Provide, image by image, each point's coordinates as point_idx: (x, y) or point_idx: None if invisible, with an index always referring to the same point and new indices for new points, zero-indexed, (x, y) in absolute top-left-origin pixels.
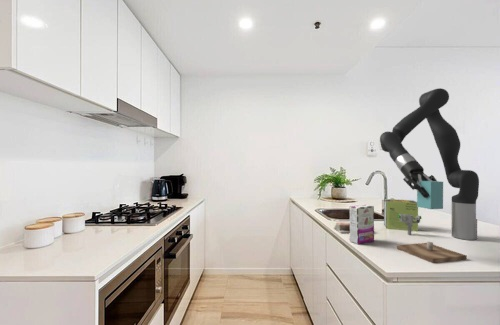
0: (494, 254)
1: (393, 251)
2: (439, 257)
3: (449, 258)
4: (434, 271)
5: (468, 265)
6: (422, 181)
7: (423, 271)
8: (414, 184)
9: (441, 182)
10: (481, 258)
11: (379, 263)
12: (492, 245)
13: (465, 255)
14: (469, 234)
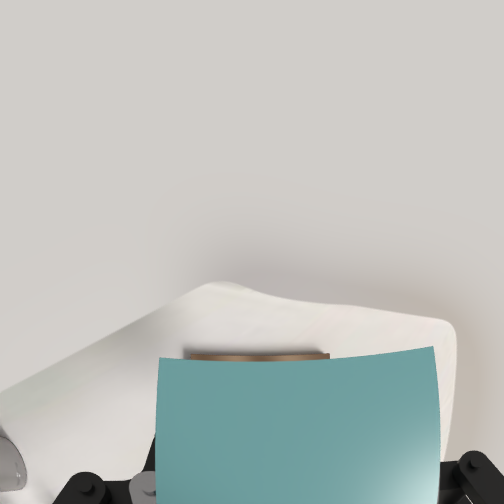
0: (73, 355)
1: None
2: (297, 359)
3: (262, 356)
4: (366, 308)
5: (238, 322)
6: (434, 489)
7: (391, 312)
8: (489, 465)
9: (201, 363)
10: (140, 349)
11: (452, 365)
12: (8, 394)
13: (194, 354)
14: (3, 444)
